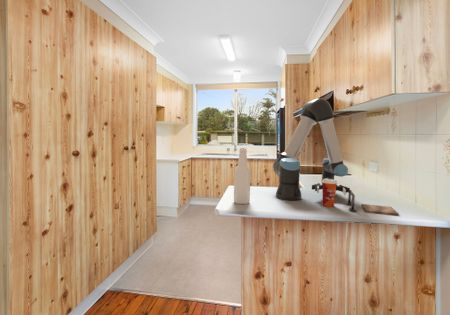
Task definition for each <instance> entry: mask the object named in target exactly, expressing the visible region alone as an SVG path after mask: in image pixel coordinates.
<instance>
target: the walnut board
mask: <svg viewBox="0 0 450 315" xmlns="http://www.w3.org/2000/svg"><path fill="white" fill-rule="evenodd" d="M360 207H362V209H363V211H364V212H365V213H369V214H370V213H371V214H379V215H389V216H399V214H400V213H399V212H397V210H395V209H394V208H393V207H392V206H389V205H388V206H386V205H379V204H378V205H377V204H376V205H375V204H366V203H361V205H360Z"/></svg>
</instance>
